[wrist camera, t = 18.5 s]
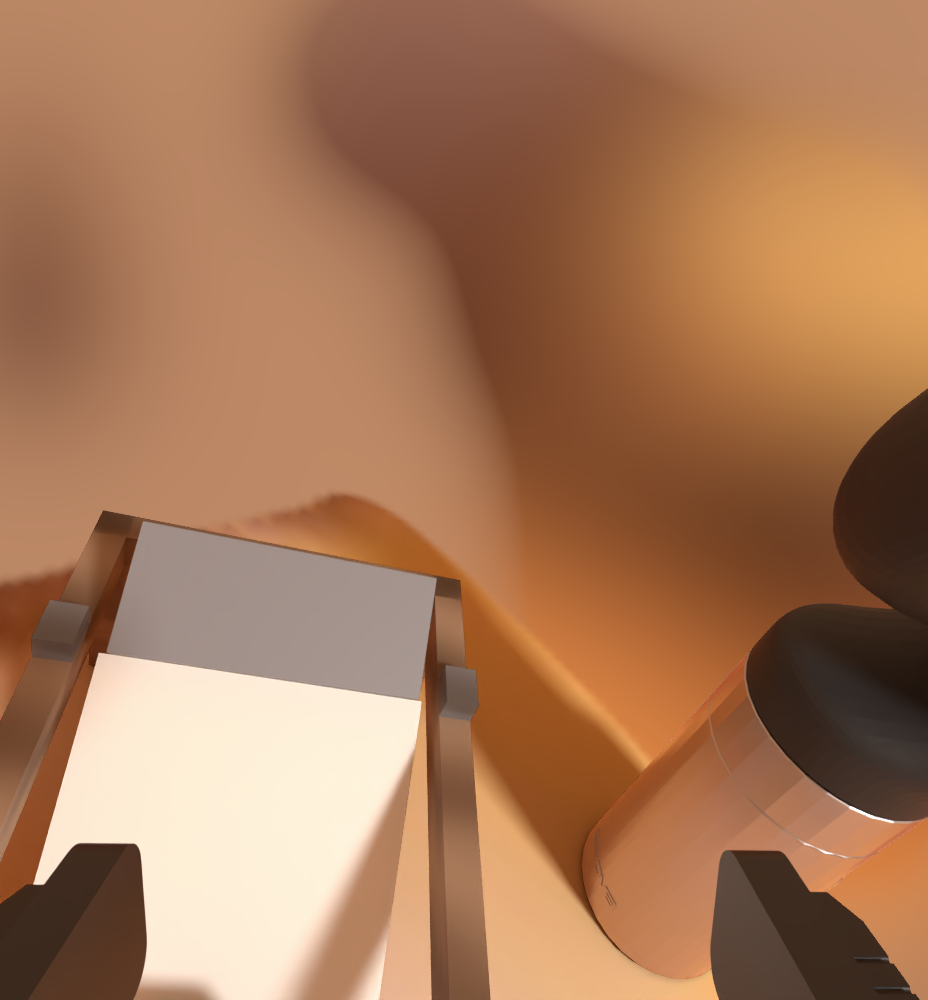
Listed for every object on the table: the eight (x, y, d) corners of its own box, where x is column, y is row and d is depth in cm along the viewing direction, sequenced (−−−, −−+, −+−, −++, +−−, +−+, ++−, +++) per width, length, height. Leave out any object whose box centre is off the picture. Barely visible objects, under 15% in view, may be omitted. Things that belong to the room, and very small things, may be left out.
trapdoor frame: (97, 643, 43) (103, 492, 36) (407, 691, 47) (466, 565, 40) (-148, 1239, 24) (-234, 1164, 17) (406, 1222, 29) (517, 1158, 22)
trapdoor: (140, 539, 35) (130, 518, 31) (425, 593, 38) (446, 580, 35) (6, 1020, 29) (-26, 1065, 25) (360, 1033, 32) (377, 1074, 28)
